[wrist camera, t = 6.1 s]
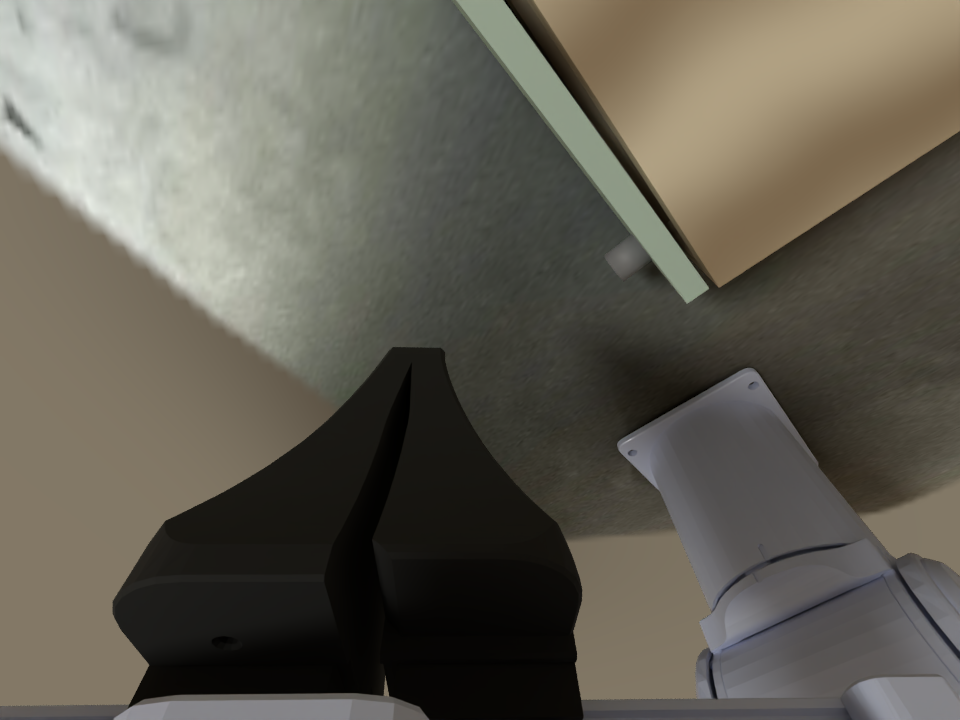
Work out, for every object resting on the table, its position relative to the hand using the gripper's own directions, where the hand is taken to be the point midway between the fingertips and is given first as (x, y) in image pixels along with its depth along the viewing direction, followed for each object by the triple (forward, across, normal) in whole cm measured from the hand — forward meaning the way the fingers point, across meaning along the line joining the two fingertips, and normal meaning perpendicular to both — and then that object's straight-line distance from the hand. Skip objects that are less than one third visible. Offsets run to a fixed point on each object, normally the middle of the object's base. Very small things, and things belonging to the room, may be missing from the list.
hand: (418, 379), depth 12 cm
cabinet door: (+9, -3, -5) cm, 11 cm away
